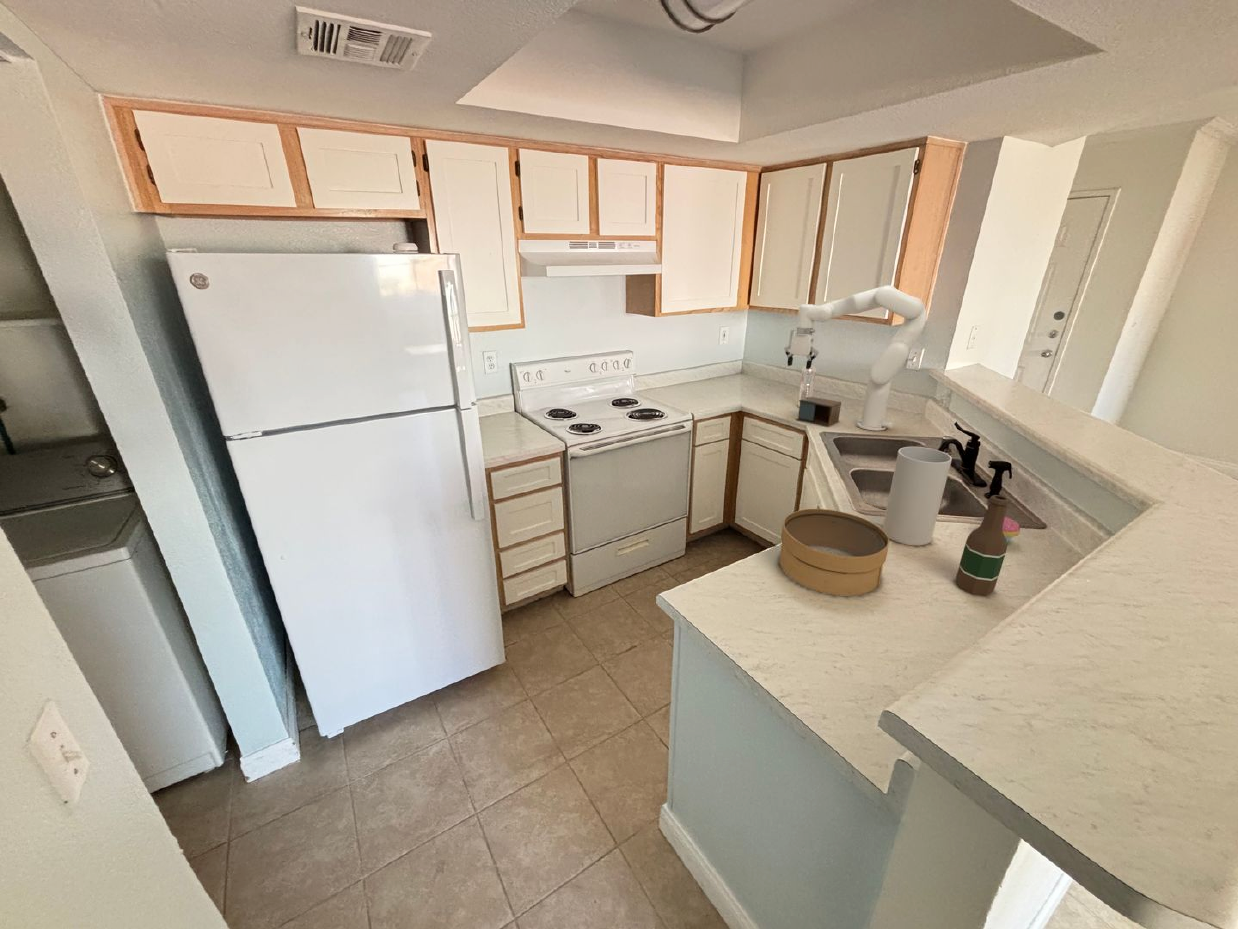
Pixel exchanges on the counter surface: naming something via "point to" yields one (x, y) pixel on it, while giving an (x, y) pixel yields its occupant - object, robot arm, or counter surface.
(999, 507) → the beer bottle
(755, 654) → the counter surface
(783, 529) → the steamer basket
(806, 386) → the water bottle
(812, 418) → the glass door
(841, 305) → the robot arm
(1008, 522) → the cupcake
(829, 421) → the cabinet
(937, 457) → the cylinder vase
